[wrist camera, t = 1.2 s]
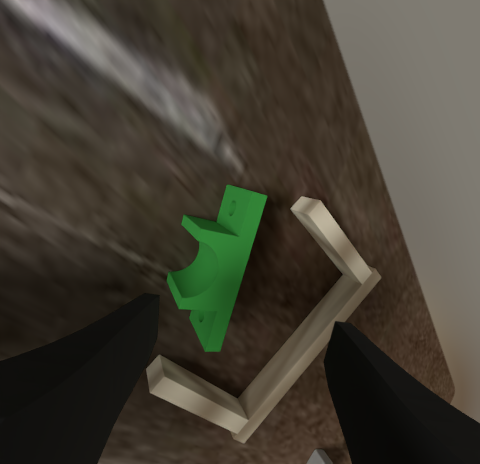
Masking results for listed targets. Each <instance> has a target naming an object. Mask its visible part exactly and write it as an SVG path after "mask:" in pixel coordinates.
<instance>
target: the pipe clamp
mask: <svg viewBox="0 0 480 464" xmlns="http://www.w3.org/2000/svg"><path fill="white" fill-rule="evenodd" d="M266 199H267V196H266V195H263V194H259V193H256V192H253V191H249V190H246V189H242V188H238V187H235V186H231V185H227V186H226V190H225V194H224V197H223V201H222V204H221V208H220V211H219V215H218V218H217V222H214V221H210V220H206V219H201V218H197V217H192V216H188V215H184V216H183V220H182V225H183V226H184V227H185V228H186V229H187V230H188V231H189V232H190V234H191V235H192V236H193V237H194V238H195V239H196V240H197V241H199V252H198V255H197V257H196V259H195V260H194V262H193V263H192V264H191V265H190V266H188V267H187V268H185V269H183V270H180V271H175V272H169V273H168V277H167V283H168V285H169V288H170V290H171V292H172V294H173V297H174V299H175V301H176V304H177V306H178V308H179V309H187V310H191V314H190V317H189V319H190V321H191V323H192V325H193V327H194V329H195V331H196V333H197V335H198V338H199V340H200V342H201V344H202V346H203V348H204V350H205V352H210V351H220V350H221V347H222V343H223V340H224V337H225V334H226V330H227V327H228V324H229V320H230V317H231V314H232V311H233V307H234V304H235V301H236V297H237V294H238V291H239V288H240V284H241V281H242V278H243V275H244V271H245V268H246V265H247V261H248V258H249V255H250V252H251V248H252V245H253V242H254V238H255V235H256V232H257V229H258V225H259V222H260V219H261V216H262V212H263V209H264V206H265V202H266Z"/></svg>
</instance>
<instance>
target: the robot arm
mask: <svg viewBox="0 0 480 464" xmlns="http://www.w3.org/2000/svg"><path fill="white" fill-rule="evenodd" d="M159 296H160V295H154V294H147V293H144V294H142V295H141V296H139V297H137V298H136V299H134V300H132V301H131V302H129V303H127V304H126V305H124V306H123V307H121V308H119V309H118V310H116V311H114V312H112V313H111V314H109V315H107V316H106V317H104V318H102V319H100V320H98V321H96V322H94V323H93V324H91V325H89V326H87V327H85V328H83V329H81V330H79V331H77V332H75V333H73V334H71V335H69V336H66V337H64V338H62V339H60V340H57V341H55V342H53V343H50V344H48V345H45V346H42V347H40V348H37V349H34V350H31V351H29V352H26V353H23V354H21V355H18V356H15V357H12V358H9V359H6V360H3V361H0V464H97V463H98V461H99V458H100V456H101V454H102V451H103V449H104V447H105V444H106V442H107V440H108V437H109V435H110V433H111V430H112V428H113V426H114V424H115V422H116V420H117V418H118V416H119V414H120V412H121V410H122V408H123V406H124V405H125V403H126V401H127V399H128V397H129V395H130V393H131V392H132V390H133V388H134V386H135V384H136V382H137V381H138V379H139V377H140V375H141V373H142V371H143V369H144V368H145V366H146V364H147V362H148V360H149V357H150V355H151V352H152V350H153V347H154V345H155V342H156V339H157V333H158V315H159ZM324 367H325V372H326V378H327V383H328V388H329V391H330V394H331V397H332V401H333V404H334V407H335V410H336V413H337V416H338V419H339V423H340V426H341V429H342V432H343V435H344V438H345V441H346V444H347V447H348V451H349V455H350V458H351V462H352V464H480V423H478V422H477V421H475V420H474V419H472V418H470V417H469V416H467V415H465V414H464V413H462V412H461V411H459V410H458V409H456V408H455V407H453V406H452V405H450V404H449V403H447V402H446V401H445V400H443V399H442V398H440V397H439V396H438V395H436V394H435V393H433V392H432V391H431V390H429V389H428V388H426V387H425V386H424V385H423V384H421V383H420V382H419V381H417V380H416V379H415V378H414V377H412V376H411V375H410V374H409V373H407V372H406V371H405V370H404V369H402V368H401V367H400V366H399V365H398V364H396V363H395V362H394V361H393V360H392V359H391V358H389V357H388V356H387V355H386V354H385V353H384V352H383V351H381V350H380V349H379V348H378V347H377V346H376V345H375V344H374V343H373V342H371V341H370V340H369V339H368V338H367V337H366V336H365V335H364V334H363V333H361V332H360V331H359V330H358V329H357V328H356V327H354V326H353V325H352V324H351V323H346V322H339V321H335V323H334V326H333V330H332V334H331V337H330V341H329V344H328V348H327V352H326V355H325V359H324Z"/></svg>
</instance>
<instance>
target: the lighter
mask: <svg viewBox="0 0 480 464" xmlns="http://www.w3.org/2000/svg"><path fill="white" fill-rule="evenodd" d="M307 464H333V463H332V461H331V460H330V458H329V457H328V456H327V454H326V453H325V451H324V450H322V449H315V450H314V452H313V454H312V455H311V457H310V459H309V460H308V462H307Z"/></svg>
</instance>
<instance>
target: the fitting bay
mask: <svg viewBox="0 0 480 464" xmlns="http://www.w3.org/2000/svg"><path fill="white" fill-rule="evenodd" d="M291 210H292V212H293V213H294V214H295V215H296V217H297V218H298V219H299V220H300V222H301V223H302V224H303V225H304V227H305V228H306V229H307V230H308V232H309V233H310V234H311V235H312V237H313V238H314V239H315V240H316V242H317V243H318V244H319V245H320V247H321V248H322V249H323V250H324V252H325V253H326V254H327V255H328V256H329V258H330V259H331V260H332V261H333V263H334V264H335V265H336V266H337V268H338V269H339V270H340V271H341V273H342V274H343V275H342V276H341V277H340V279H339V280H338V281H337V282H336V283H335V284H334V286H333V287H332V288H331V289H330V290H329V291H328V293H327V294H326V295H325V296H324V297H323V299H322V300H321V301H320V302H319V303H318V304H317V306H316V307H315V308H314V309H313V310H312V311H311V313H310V314H309V315H308V316H307V317H306V319H305V320H304V321H303V322H302V323H301V324H300V326H299V327H298V328H297V329H296V330H295V332H294V333H293V334H292V335H291V336H290V337H289V339H288V340H287V341H286V342H285V343H284V344H283V346H282V347H281V348H280V349H279V350H278V352H277V353H276V354H275V355H274V356H273V357H272V359H271V360H270V361H269V362H268V363H267V364H266V366H265V367H264V368H263V369H262V370H261V372H260V373H259V374H258V375H257V376H256V377H255V379H254V380H253V381H252V382H251V383H250V385H249V386H248V387H247V388H246V389H245V390H244V392H243V393H242V394H241V395H240V396H239V397H238V399H237V398H235V397H234V396H232V395H230V394H228V393H227V392H225V391H223V390H221V389H220V388H218V387H216V386H214V385H213V384H211V383H209V382H207V381H205V380H204V379H202V378H200V377H198V376H197V375H195V374H193V373H191V372H190V371H188V370H186V369H184V368H183V367H181V366H179V365H177V364H175V363H174V362H172V361H170V360H168V359H167V358H165V357H163V356H161V355H160V354H159V355H158V356H157V357H156V358H155V360H154V361H153V362H152V363H151V364H150V365H149V366H148V367H147V368H146V372H147V378H148V385H149V391H150V393H151V394H153V395H156V396H158V397H160V398H162V399H164V400H166V401H168V402H170V403H172V404H175V405H177V406H179V407H181V408H183V409H185V410H187V411H189V412H192V413H194V414H196V415H198V416H200V417H202V418H204V419H206V420H208V421H211V422H213V423H215V424H217V425H219V426H221V427H223V428H225V429H227V430H230V432H231V434H232V436H233V439H235V440H237V441H240V442H242V443H245V442H246V440H247V439H248V438H249V437H250V436H251V434H252V433H253V432H254V431H255V430H256V428H257V427H258V426H259V425H260V424H261V422H262V421H263V420H264V419H265V417H266V416H267V415H268V414H269V413H270V411H271V410H272V409H273V408H274V407H275V405H276V404H277V403H278V402H279V401H280V399H281V398H282V397H283V396H284V395H285V393H286V392H287V391H288V390H289V389H290V387H291V386H292V385H293V384H294V383H295V381H296V380H297V379H298V378H299V376H300V375H301V374H302V373H303V372H304V370H305V369H306V368H307V367H308V366H309V364H310V363H311V362H312V361H313V360H314V358H315V357H316V356H317V355H318V354H319V352H320V351H321V350H322V349H323V348H324V346H325V345H326V344H327V343H328V342H329V340H330V337H331V334H332V330H333V326H334V323H335V321H339V322H345V321H346V320H347V319H348V317H349V316H350V315H351V314H352V313H353V311H354V310H355V309H356V308H357V307H358V305H359V304H360V303H361V302H362V301H363V299H364V298H365V297H366V296H367V295H368V293H369V292H370V291H371V290H372V288H373V287H374V286H375V285H376V284H377V282H378V281H379V280H380V279H381V278H382V277H381V276H380V275H379V273H378V272H377V270H376V269H375V268H372V267H370V266H368V265H366V263H365V262H364V261H363V259H362V258H361V256H360V255H359V254H358V252H357V251H356V249H355V248H354V247H353V245H352V244H351V242H350V241H349V240H348V238H347V237H346V235H345V234H344V233H343V231H342V230H341V228H340V227H339V226H338V224H337V223H336V221H335V220H334V219H333V217H332V216H331V214H330V213H329V212H328V210H327V209H326V207H325V206H324V205H323V203H322V202H321V201H320V200H316V199H311V198H307V197H303V196H301V198H300V199H299V200H298V201H297V202H296V203H295V204H294V205H293V206H292V208H291Z"/></svg>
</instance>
